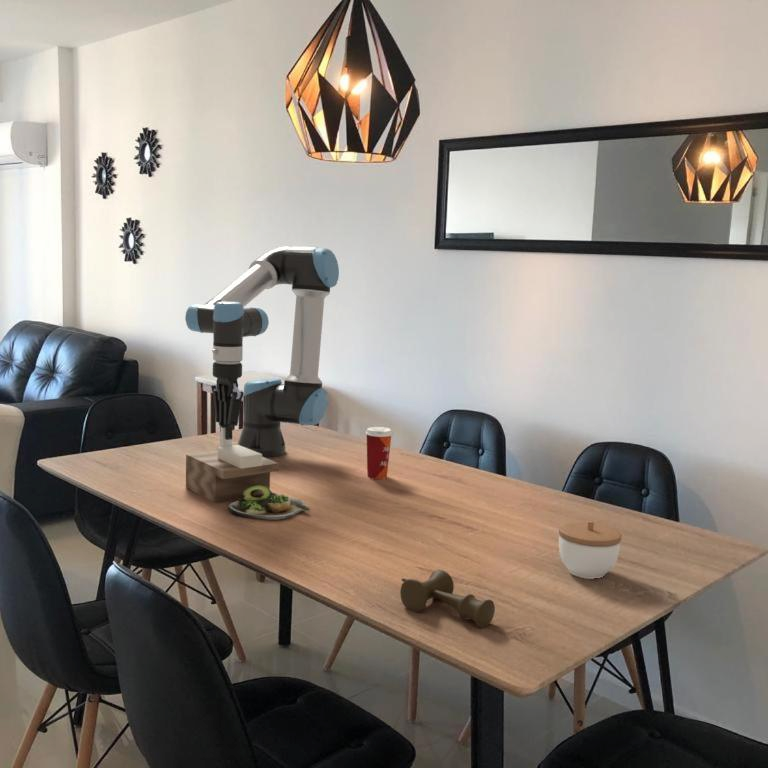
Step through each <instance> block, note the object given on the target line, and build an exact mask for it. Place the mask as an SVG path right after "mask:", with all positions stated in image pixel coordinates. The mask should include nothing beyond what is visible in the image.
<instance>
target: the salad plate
mask: <svg viewBox="0 0 768 768" xmlns="http://www.w3.org/2000/svg"><path fill="white" fill-rule="evenodd" d="M242 496H243V498H239V499H237V500H236V501H233V502H231V503H230V504H228V507H227V508H228V510H229V512H230V513H231V514H233V515H234V516H238V517H241V516H242V518H248V517H249V519H255V518H256V520H257V519H258V520H268V521H279V520H286V519H290V518H292V517H294V516H296V515H297V514H300V513H301V512H303V511H306V512H307V511H310V510H311V508H310V507H308V506H306V505H305V503H304V502H303V501H302V500H301V499H299V498H294V497H289V496H288V495H287V496H286V495H284V494H281V495H280V494H277V493H275V492H272V490H271V488H270V489H269V488H268V487H266V486H262V485H255V486H251V487H249V488H247V489H246V490H245V491H244V492H243V494H242ZM265 514H269V515H265ZM271 514H272V515H271ZM273 514H274V515H273Z"/></svg>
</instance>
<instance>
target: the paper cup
mask: <svg viewBox="0 0 768 768" xmlns="http://www.w3.org/2000/svg"><path fill="white" fill-rule="evenodd" d="M365 435H366V465H367V466H366V467H367V468H366V471H367V478H369V477H370V478H369V479H371V478H373V479H372V480H384V479H383V478H385V479H387V478H386V477H388V473H389V471H388V470H389V462H390V461H389V460H390V452H391V450H390V449H391V440H392V435H393V432H392V430H391V428H389V427H383V426H371V427H368V428H367V429H366V431H365Z"/></svg>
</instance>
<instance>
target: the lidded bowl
mask: <svg viewBox="0 0 768 768" xmlns="http://www.w3.org/2000/svg"><path fill="white" fill-rule="evenodd" d="M622 535H623V534H622V533H621V532H620V531H619V530H618V528H615V527H613V526H610V525H608V524H604V523H600V522H595V521H593V520H588V521H586V520H584V521H582V520H573V521H568V522H564V523H562V524H561V525H560V526H559V527H558V550H559V557H560V559H561V561H562V562H563V565H564V566H565V567H566V568H567V569H568V572H569V574H571V575H573V577H574V576H575V577H576V578H582V579H586V580H595V579H594V578H599V579H601V578H600V577H602V578H604V577H605V575H606V574H607V573H609V572H610V571H611V570H612V569H613V568H614V566H615V565H616V563H617V561H618V557H619V554H620V551H621V549H620V547H621V541H622ZM603 576H604V577H603Z"/></svg>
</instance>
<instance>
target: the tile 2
mask: <svg viewBox="0 0 768 768" xmlns="http://www.w3.org/2000/svg"><path fill="white" fill-rule="evenodd" d="M229 464H232V465H234V466H236V467H238V468H241V469H242V468H249V467H256V466H262V454H260V453H258V452H255V451H253V450H250V449H249V450H241V451H233V452H229Z"/></svg>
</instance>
